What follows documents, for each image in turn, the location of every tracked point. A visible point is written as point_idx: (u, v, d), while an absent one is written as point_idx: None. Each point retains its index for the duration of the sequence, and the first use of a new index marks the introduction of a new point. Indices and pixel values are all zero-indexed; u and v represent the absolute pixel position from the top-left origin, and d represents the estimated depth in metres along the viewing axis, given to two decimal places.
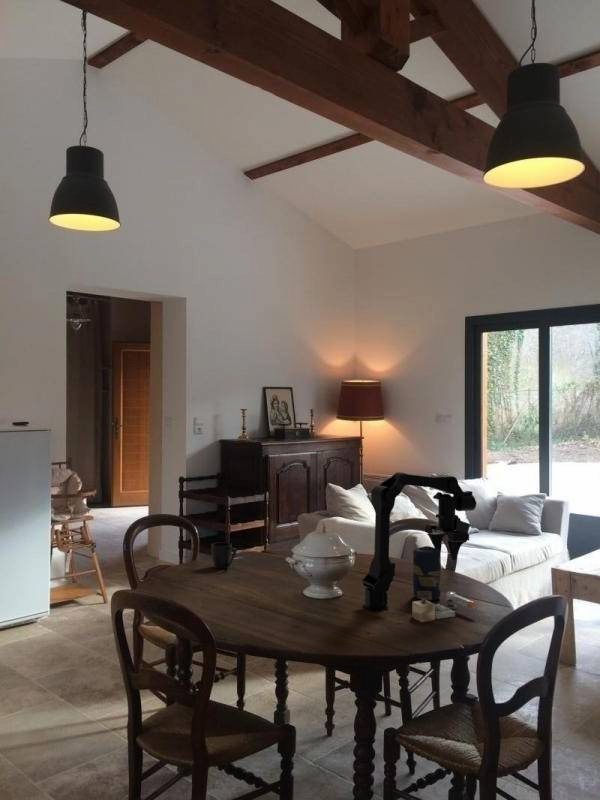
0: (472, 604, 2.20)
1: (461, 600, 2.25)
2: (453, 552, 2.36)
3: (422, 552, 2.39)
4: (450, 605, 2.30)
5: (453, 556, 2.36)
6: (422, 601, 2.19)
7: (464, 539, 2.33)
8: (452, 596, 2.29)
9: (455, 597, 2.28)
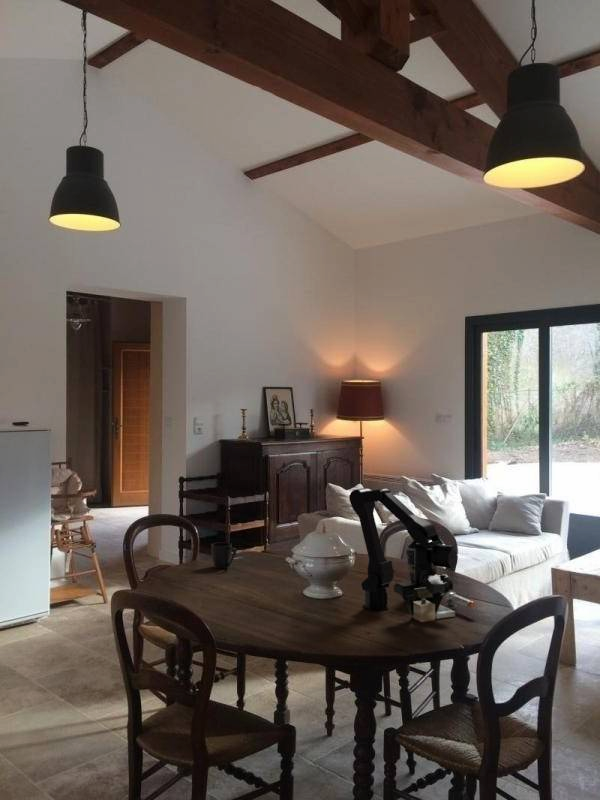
0: (472, 604, 2.20)
1: (461, 600, 2.25)
2: (407, 605, 2.18)
3: None
4: (450, 605, 2.30)
5: (409, 610, 2.18)
6: (422, 601, 2.19)
7: (399, 592, 2.15)
8: (452, 596, 2.29)
9: (455, 597, 2.28)
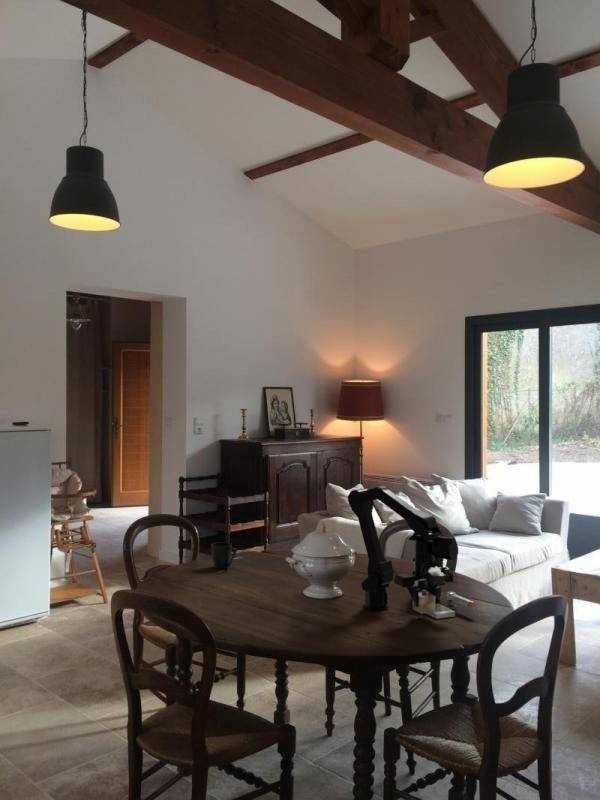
0: (472, 604, 2.20)
1: (461, 600, 2.25)
2: (412, 597, 2.19)
3: None
4: (450, 605, 2.30)
5: (414, 601, 2.18)
6: (423, 593, 2.19)
7: (400, 584, 2.15)
8: (452, 596, 2.29)
9: (455, 597, 2.28)
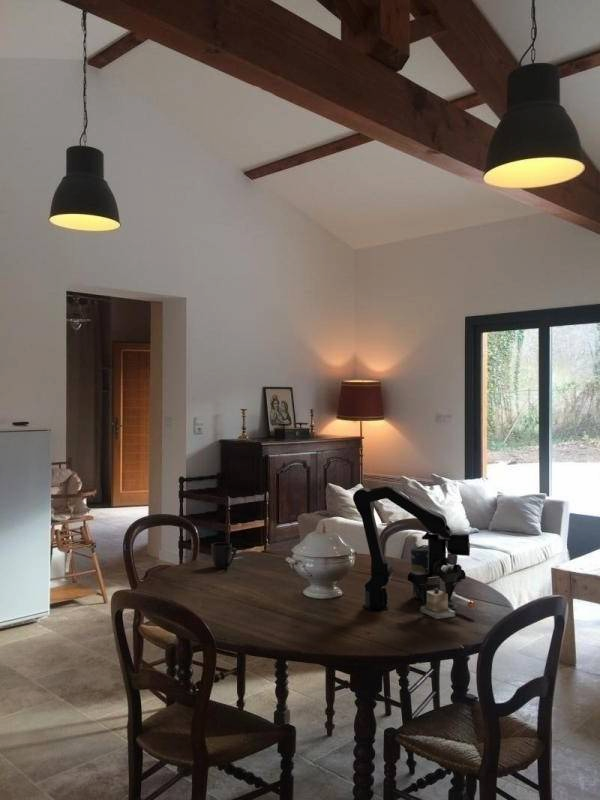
0: (472, 604, 2.20)
1: (461, 600, 2.25)
2: (420, 594, 2.23)
3: (424, 551, 2.39)
4: (450, 605, 2.30)
5: (422, 599, 2.23)
6: (435, 591, 2.24)
7: (413, 581, 2.20)
8: (452, 596, 2.29)
9: (455, 597, 2.28)
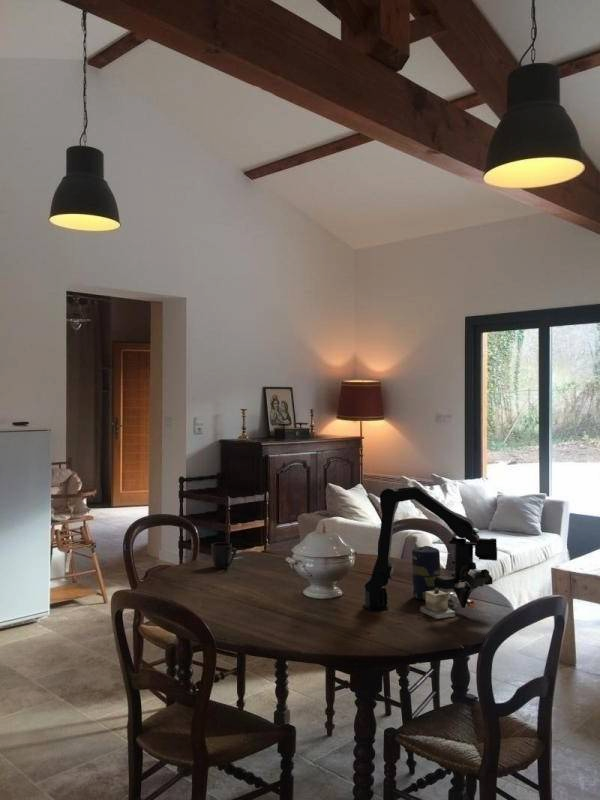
0: (472, 604, 2.20)
1: None
2: (458, 598, 2.23)
3: (427, 552, 2.38)
4: (450, 605, 2.30)
5: (460, 603, 2.22)
6: (435, 591, 2.24)
7: (440, 586, 2.18)
8: (452, 596, 2.29)
9: (455, 597, 2.28)
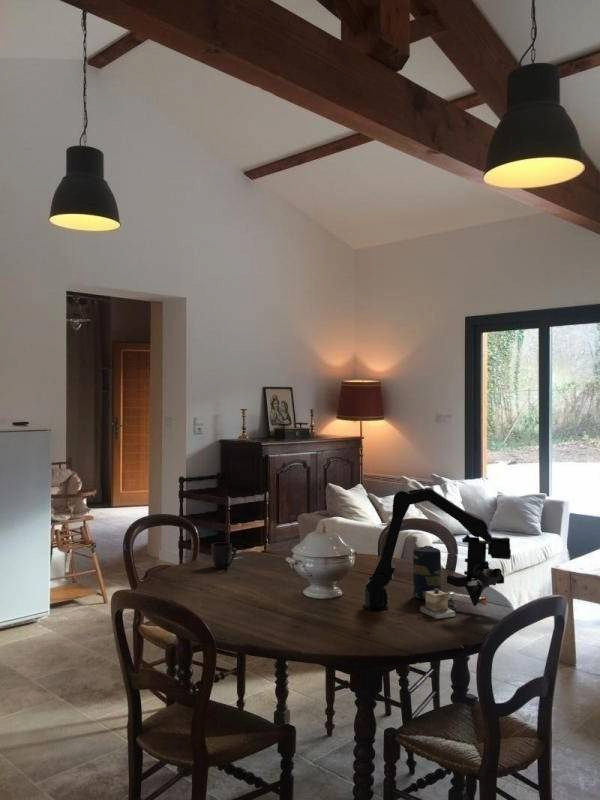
0: (486, 600, 2.24)
1: (469, 598, 2.27)
2: (470, 596, 2.25)
3: (428, 552, 2.38)
4: (450, 605, 2.30)
5: (472, 601, 2.25)
6: (435, 591, 2.24)
7: (453, 584, 2.20)
8: (455, 596, 2.30)
9: (460, 596, 2.29)
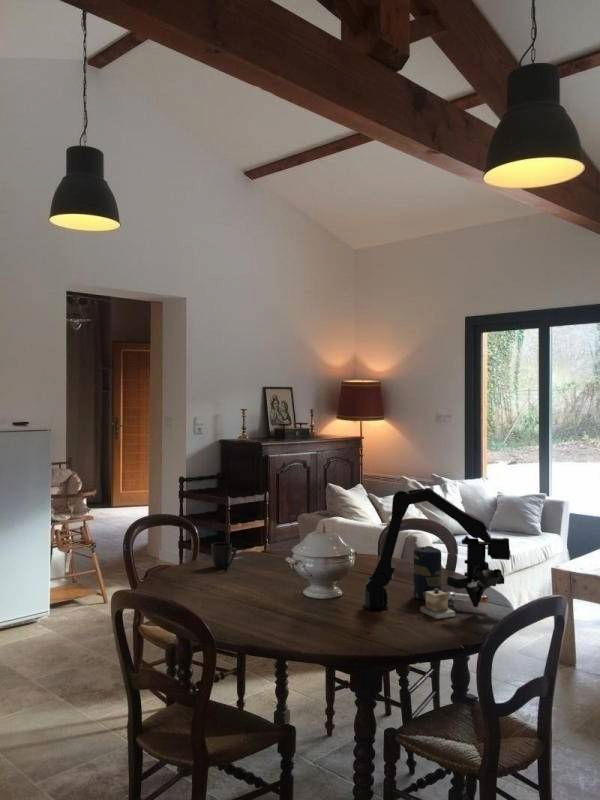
0: (487, 599, 2.26)
1: None
2: (470, 597, 2.25)
3: (429, 552, 2.38)
4: (450, 605, 2.30)
5: (472, 602, 2.25)
6: (435, 591, 2.24)
7: (453, 585, 2.20)
8: (456, 595, 2.30)
9: (461, 596, 2.29)
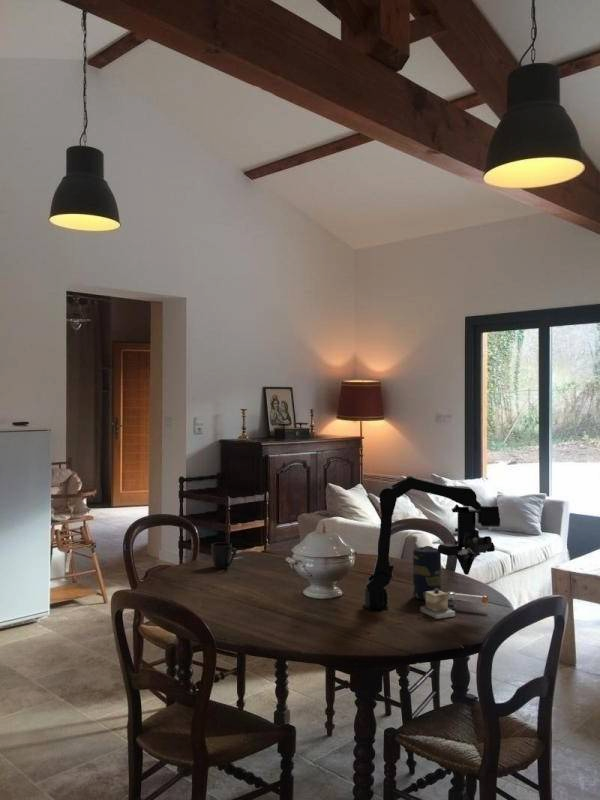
0: (487, 599, 2.26)
1: (471, 597, 2.28)
2: (461, 565, 2.27)
3: (429, 552, 2.38)
4: (450, 605, 2.30)
5: (463, 569, 2.27)
6: (435, 591, 2.24)
7: (443, 553, 2.23)
8: (456, 595, 2.30)
9: (461, 596, 2.29)
